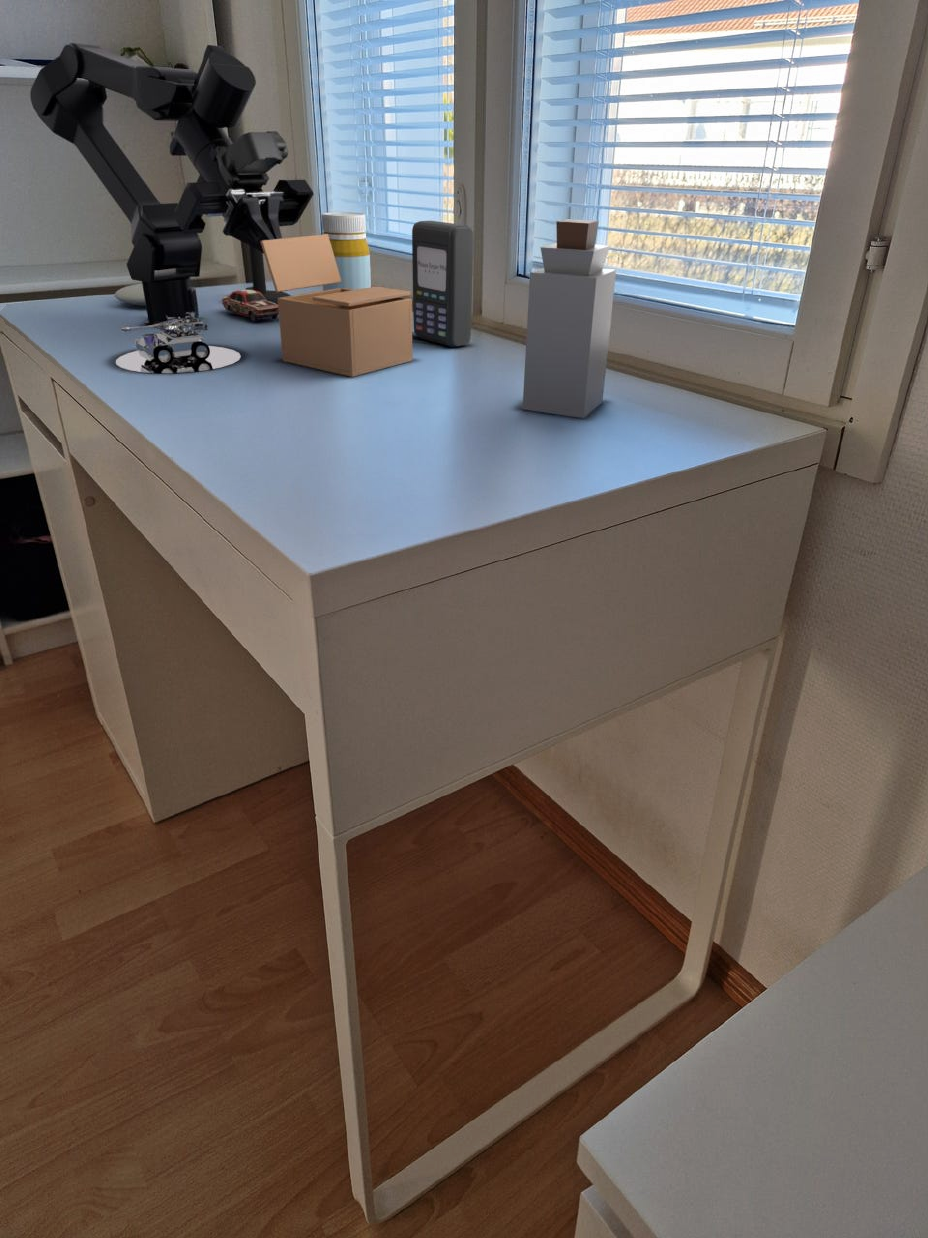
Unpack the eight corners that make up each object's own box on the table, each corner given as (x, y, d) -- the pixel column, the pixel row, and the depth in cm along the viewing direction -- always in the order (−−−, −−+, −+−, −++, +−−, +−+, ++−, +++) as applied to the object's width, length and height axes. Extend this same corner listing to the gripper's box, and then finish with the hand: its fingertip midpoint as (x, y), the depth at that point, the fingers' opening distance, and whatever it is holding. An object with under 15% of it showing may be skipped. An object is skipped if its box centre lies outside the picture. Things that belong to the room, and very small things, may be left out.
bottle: (376, 320, 128) (372, 212, 121) (367, 329, 122) (362, 216, 115) (331, 319, 129) (325, 211, 121) (320, 328, 123) (312, 215, 115)
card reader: (409, 337, 118) (407, 220, 111) (431, 334, 120) (430, 219, 113) (450, 349, 112) (451, 226, 105) (473, 345, 115) (475, 225, 107)
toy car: (100, 353, 106) (91, 309, 103) (213, 340, 114) (207, 298, 111) (139, 379, 96) (130, 330, 93) (260, 362, 104) (255, 317, 101)
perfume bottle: (602, 402, 91) (621, 220, 82) (583, 418, 86) (601, 225, 77) (544, 394, 94) (556, 216, 85) (522, 409, 88) (532, 221, 79)
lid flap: (277, 291, 101) (275, 292, 101) (341, 281, 108) (339, 282, 108) (262, 240, 99) (260, 241, 99) (328, 233, 106) (325, 234, 107)
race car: (254, 319, 135) (248, 288, 133) (284, 319, 126) (278, 286, 124) (225, 322, 133) (219, 291, 131) (253, 322, 123) (247, 289, 122)
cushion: (207, 300, 141) (205, 281, 139) (165, 312, 131) (161, 292, 129) (146, 295, 144) (143, 276, 142) (100, 307, 134) (96, 287, 132)
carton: (282, 361, 105) (276, 290, 101) (344, 346, 112) (341, 280, 108) (352, 377, 99) (348, 302, 94) (412, 360, 106) (411, 291, 102)
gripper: (173, 101, 93) (250, 216, 93) (297, 107, 106) (365, 208, 106) (144, 178, 101) (214, 284, 101) (262, 175, 114) (325, 269, 114)
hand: (283, 259), depth 105 cm, fingers closed
